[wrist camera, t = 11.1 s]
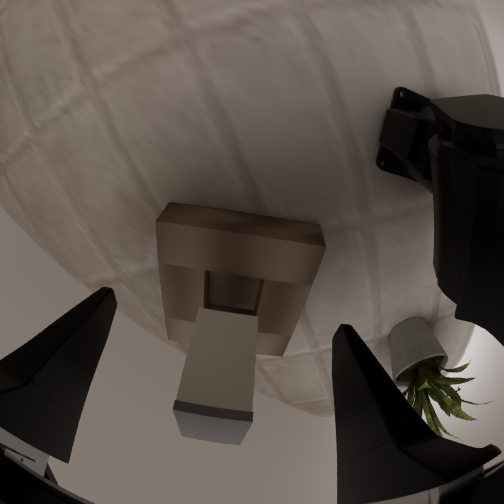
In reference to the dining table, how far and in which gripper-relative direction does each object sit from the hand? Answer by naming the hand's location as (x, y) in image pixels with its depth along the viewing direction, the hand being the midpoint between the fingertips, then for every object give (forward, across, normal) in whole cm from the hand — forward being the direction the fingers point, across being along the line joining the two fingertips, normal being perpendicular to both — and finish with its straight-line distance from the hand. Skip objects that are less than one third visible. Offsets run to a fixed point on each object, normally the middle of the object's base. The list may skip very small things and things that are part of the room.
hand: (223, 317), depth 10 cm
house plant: (+12, -21, +15) cm, 29 cm away
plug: (+6, 0, +9) cm, 11 cm away
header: (+12, 0, +9) cm, 15 cm away
